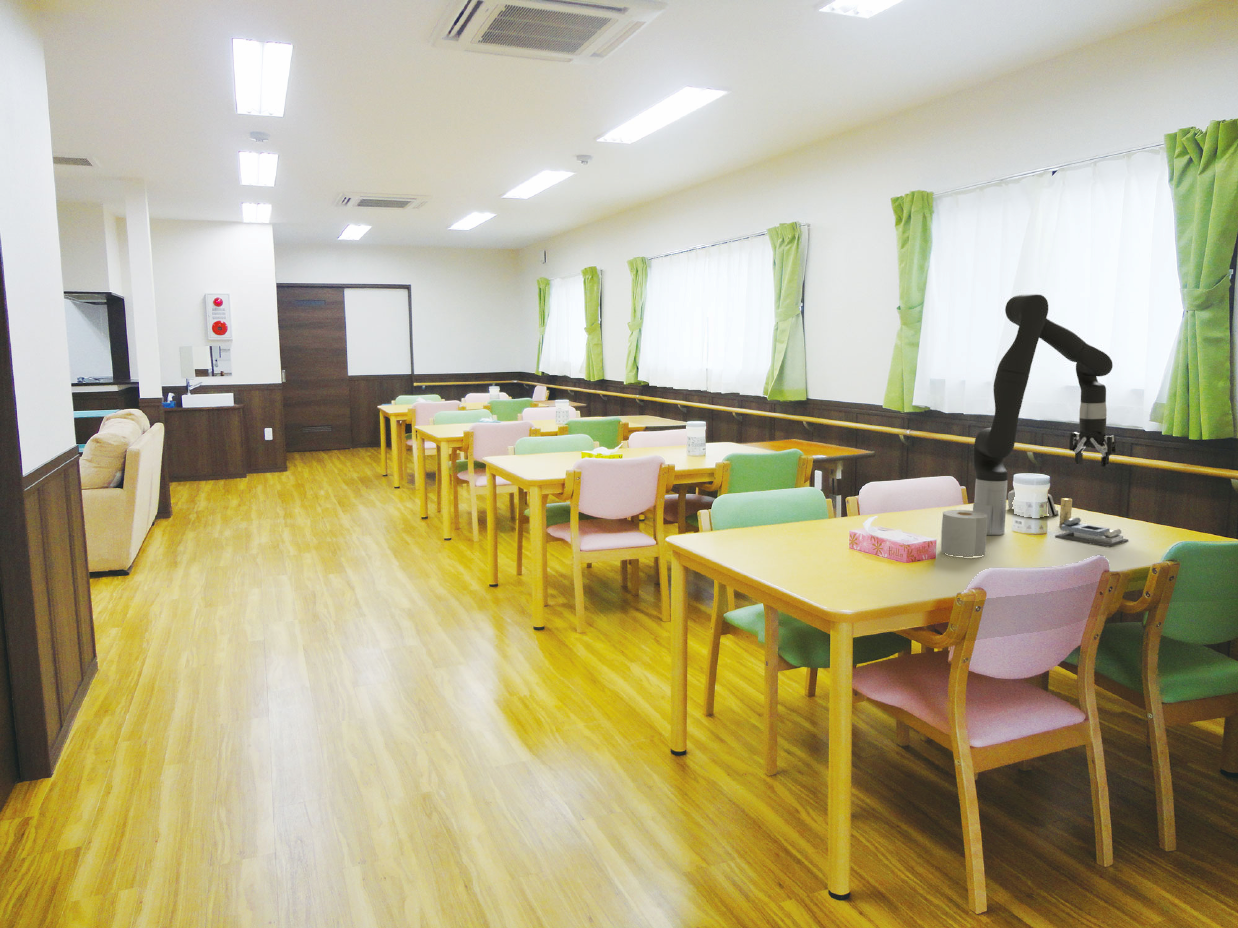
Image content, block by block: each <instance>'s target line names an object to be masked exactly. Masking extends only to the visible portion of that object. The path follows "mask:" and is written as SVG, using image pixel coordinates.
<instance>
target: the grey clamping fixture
mask: <svg viewBox="0 0 1238 928" xmlns="http://www.w3.org/2000/svg"><path fill="white" fill-rule="evenodd" d="M1081 522H1082V519H1081V518H1080V517H1079V516H1078V517H1074V518H1071V519H1069V520H1065V521H1064V525H1061V526H1060V530H1061V531H1063V532H1064V531H1066V532H1069V531H1070V532H1074V537H1077V538H1082V539H1088V540H1093V541H1099V542H1104V543H1110V544H1113V543H1116V542H1119V541H1123V539H1124V535H1122V530H1121V529H1119V528H1116V529H1113V530H1110V529H1111V528H1109V527H1103V526H1099V525H1092V524H1086V523H1085V524H1084V523H1081Z"/></svg>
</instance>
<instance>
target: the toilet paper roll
mask: <svg viewBox="0 0 1238 928" xmlns="http://www.w3.org/2000/svg"><path fill="white" fill-rule="evenodd" d="M940 535H941V536H940V541H941V542H940V545H941V546H940V549H941V550H940V552H941V551H942V552H943V553H946V554H948V555H953V556H963V557H973V556H982V555H984V556H985V554H986V548H987V547H986V545H987V536H988V535H987V515H986V514H984V513H981V512H977V511H973V510H967V509H949V510H944V511H943V512H942V519H941V534H940ZM942 552H941V553H942ZM943 553H942V554H943ZM948 555H947V556H948Z"/></svg>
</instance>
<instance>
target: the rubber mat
mask: <svg viewBox="0 0 1238 928" xmlns="http://www.w3.org/2000/svg"><path fill="white" fill-rule="evenodd" d="M1054 538H1056V539H1057V538H1058V539H1062V540H1063V539H1064V540H1069V541H1073V542H1074V541H1075V542H1080V543H1085V544H1090V543H1091V545H1095V546H1096V545H1097V546H1100V547H1106V546H1109V547H1108V548H1111V547H1114V545H1115V546H1117V545H1120V544H1124V543H1127V542H1129V539H1128V538H1123V541H1119V542H1116V543H1113V544H1110V543H1104V542H1099V541H1093V540H1088V539H1082V538H1077V537H1074V532H1070V531H1066V532H1062V533H1059V534H1056V535H1054Z"/></svg>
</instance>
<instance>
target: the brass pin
mask: <svg viewBox="0 0 1238 928" xmlns="http://www.w3.org/2000/svg"><path fill="white" fill-rule="evenodd" d="M1072 506H1073V499H1072V498H1067V497H1064V498H1063V497H1061V498H1060V509H1059V510H1060V512H1059V527H1061V525H1064V521H1065V520H1069V519H1072V512H1073V511H1072V509H1073V507H1072Z"/></svg>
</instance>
